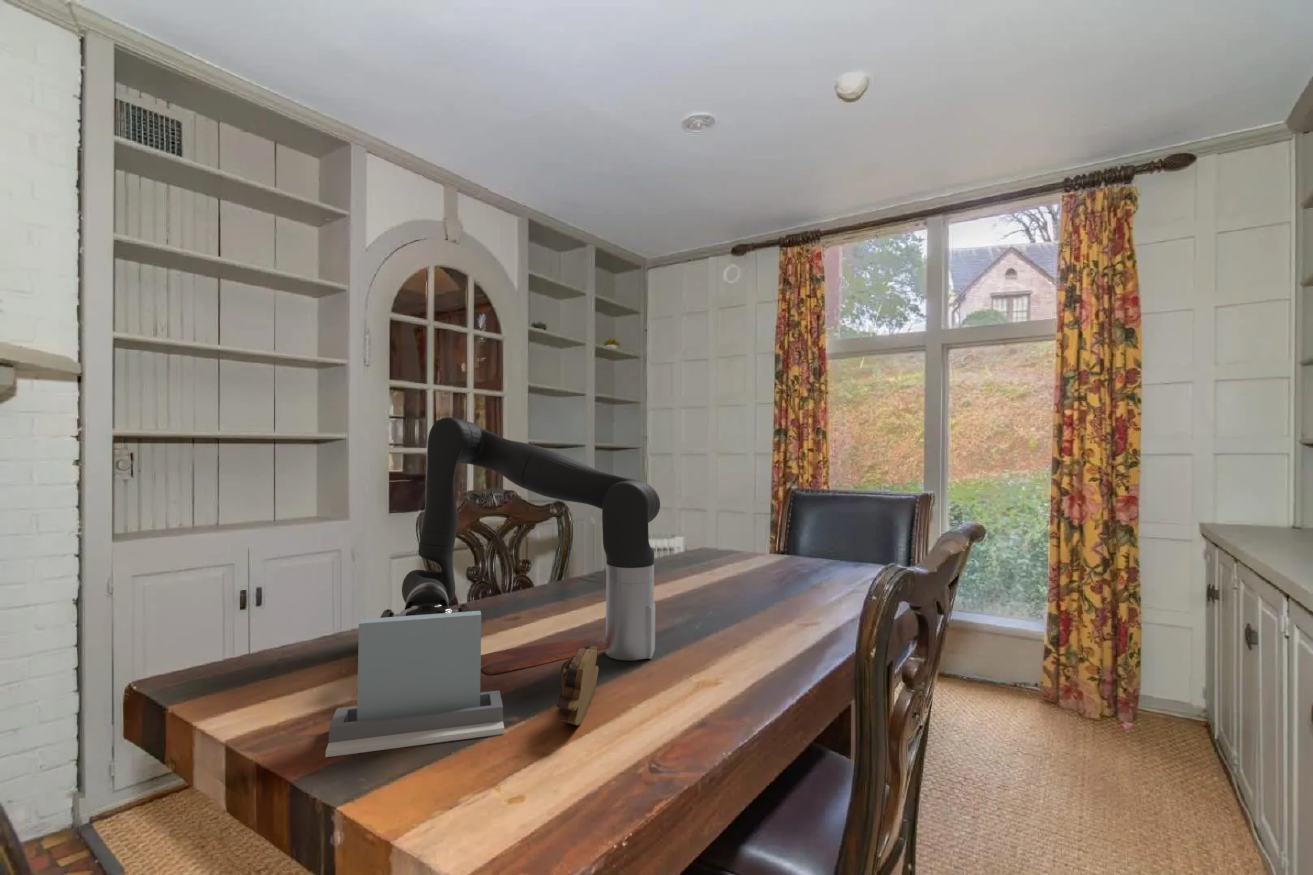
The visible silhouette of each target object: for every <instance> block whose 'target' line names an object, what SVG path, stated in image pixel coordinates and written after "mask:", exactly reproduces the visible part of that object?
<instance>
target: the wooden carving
mask: <svg viewBox="0 0 1313 875" xmlns="http://www.w3.org/2000/svg"><path fill="white" fill-rule="evenodd" d="M597 656H598V651H597V647H594V646H585V647H584V648H581V649H579V650H578V651H577V653H576V654H575V655H574V656H570V657H569V658H567V660H565V661H563V663H562V665H561V668H560V675H561V688H562V691H561V693H560V694H559V695H558V697H557V699H556V703H555V705H556V707H557V708H558V710H557V715H556V717H557V721H559V722H561V723H567V724H571V725H576V726H580V725H582V723H583V722H584V720H585V718H586V715H587V714H588V711H589V707H590V704H591V701H592V700H593V699H594V696H595V693H596V688H597V687H596V686H597V681H598V675H599V669H600V668H599V666H598V665H596V663H597V658H598V657H597Z"/></svg>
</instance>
